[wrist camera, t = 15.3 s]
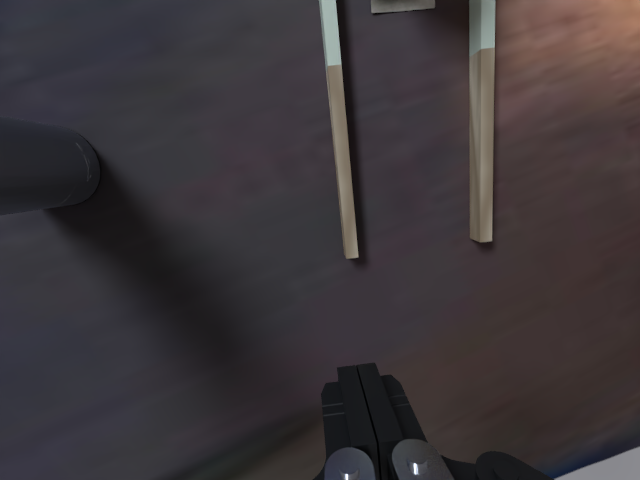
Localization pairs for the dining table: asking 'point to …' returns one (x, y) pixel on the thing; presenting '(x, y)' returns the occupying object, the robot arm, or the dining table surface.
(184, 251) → the dining table surface
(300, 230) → the dining table surface
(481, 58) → the wooden guide rails
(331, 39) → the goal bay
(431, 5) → the condiment
